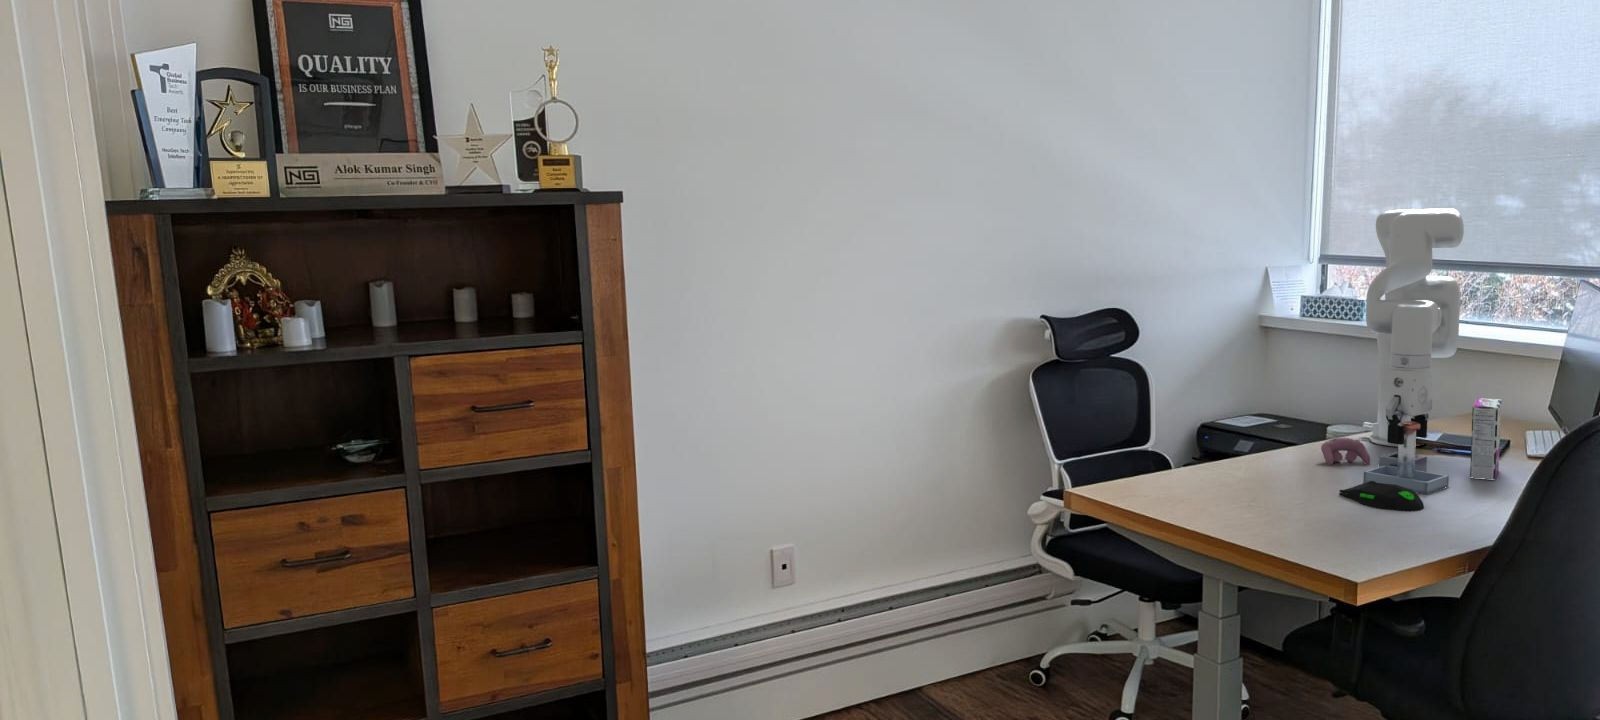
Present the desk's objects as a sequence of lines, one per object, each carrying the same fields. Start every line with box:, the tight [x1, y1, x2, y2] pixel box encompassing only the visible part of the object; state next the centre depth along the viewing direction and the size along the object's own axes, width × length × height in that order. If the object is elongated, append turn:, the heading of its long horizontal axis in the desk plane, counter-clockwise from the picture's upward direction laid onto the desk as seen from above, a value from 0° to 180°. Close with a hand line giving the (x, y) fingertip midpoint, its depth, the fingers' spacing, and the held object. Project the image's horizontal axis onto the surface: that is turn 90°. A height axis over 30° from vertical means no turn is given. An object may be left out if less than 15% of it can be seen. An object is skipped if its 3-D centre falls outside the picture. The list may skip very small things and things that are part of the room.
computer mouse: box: [1338, 481, 1425, 512], centre depth 212 cm, size 11×16×4 cm
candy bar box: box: [1469, 397, 1502, 480], centre depth 229 cm, size 11×5×16 cm, turn 143°
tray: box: [1362, 465, 1450, 495], centre depth 223 cm, size 13×9×2 cm
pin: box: [1397, 421, 1420, 480], centre depth 223 cm, size 5×5×13 cm
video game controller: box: [1320, 437, 1371, 466], centre depth 245 cm, size 10×5×7 cm, turn 85°
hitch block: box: [1378, 451, 1428, 472], centre depth 232 cm, size 7×7×4 cm
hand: (1407, 440), depth 222 cm, fingers open, 9 cm apart
